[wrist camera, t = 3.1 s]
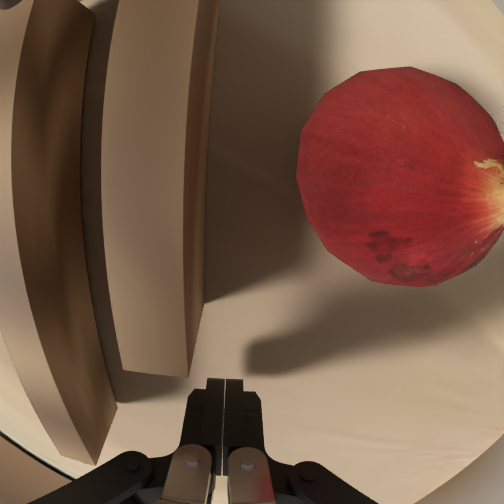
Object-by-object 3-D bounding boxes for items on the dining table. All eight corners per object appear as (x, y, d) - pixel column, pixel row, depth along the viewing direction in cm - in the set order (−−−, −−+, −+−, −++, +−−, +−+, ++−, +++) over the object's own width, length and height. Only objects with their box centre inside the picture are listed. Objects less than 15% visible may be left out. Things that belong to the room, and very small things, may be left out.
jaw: (60, 8, 8) (-14, -35, 3) (99, -3, 8) (32, -60, 3) (86, 401, 14) (53, 472, 9) (117, 408, 14) (89, 484, 9)
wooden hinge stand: (42, 288, 12) (-23, 349, 7) (58, -25, 7) (-1, -68, 2) (203, 304, 12) (184, 396, 7) (228, -54, 8) (222, -135, 3)
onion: (427, 218, 12) (573, 301, 4) (302, 256, 12) (381, 414, 4) (400, 82, 10) (562, 44, 2) (261, 108, 10) (304, 20, 3)
